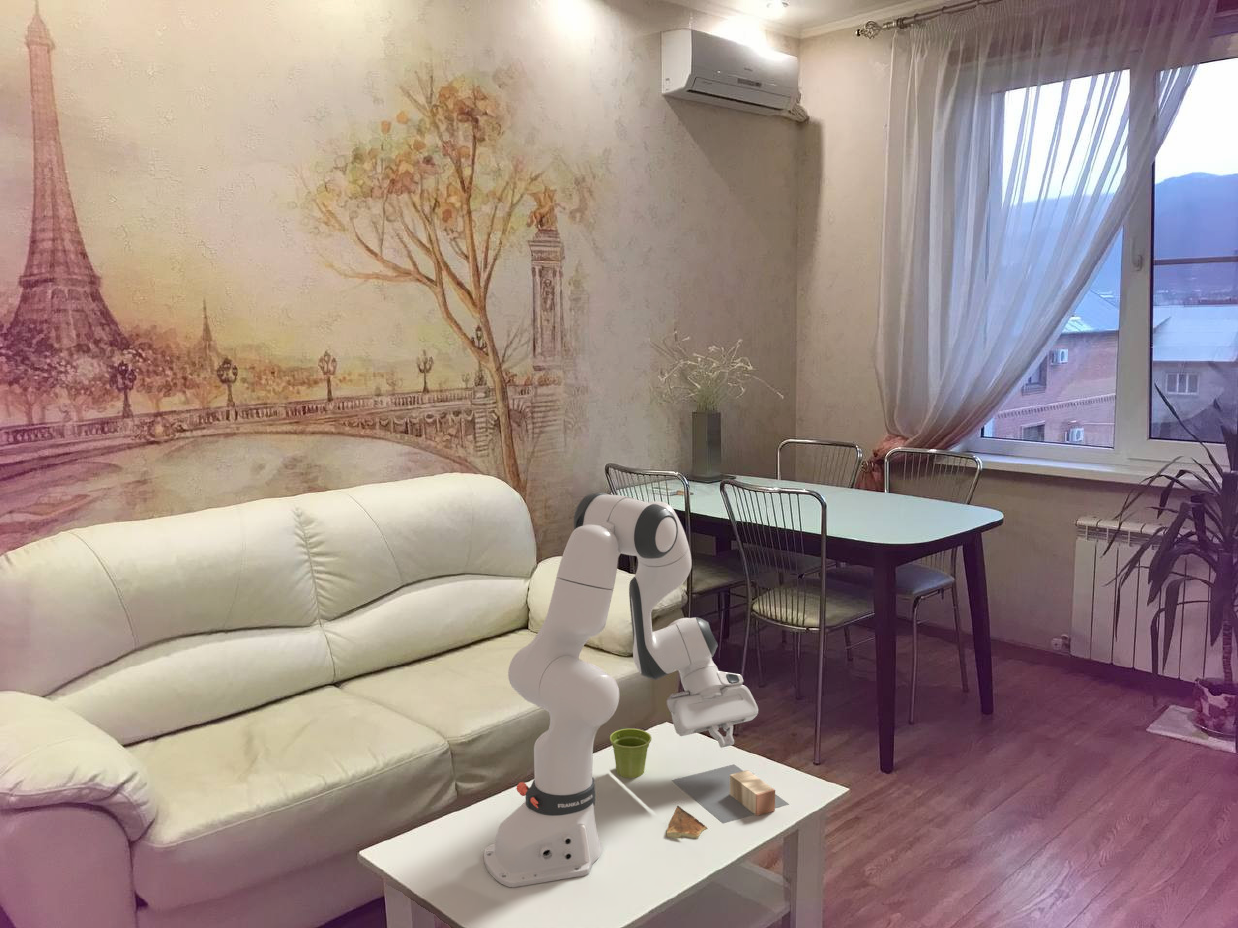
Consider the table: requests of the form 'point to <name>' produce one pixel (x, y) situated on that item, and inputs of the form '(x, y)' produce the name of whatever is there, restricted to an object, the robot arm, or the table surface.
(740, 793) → the birch block
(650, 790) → the table surface
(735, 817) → the rubber mat
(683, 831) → the shard
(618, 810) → the table surface
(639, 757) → the plant pot
